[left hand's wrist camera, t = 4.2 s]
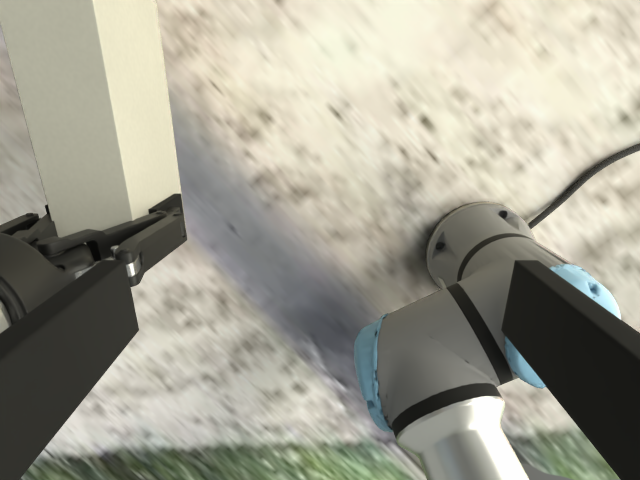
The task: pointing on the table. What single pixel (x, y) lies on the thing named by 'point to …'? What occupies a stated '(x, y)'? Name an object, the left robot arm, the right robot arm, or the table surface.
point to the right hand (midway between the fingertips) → (144, 205)
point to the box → (94, 107)
